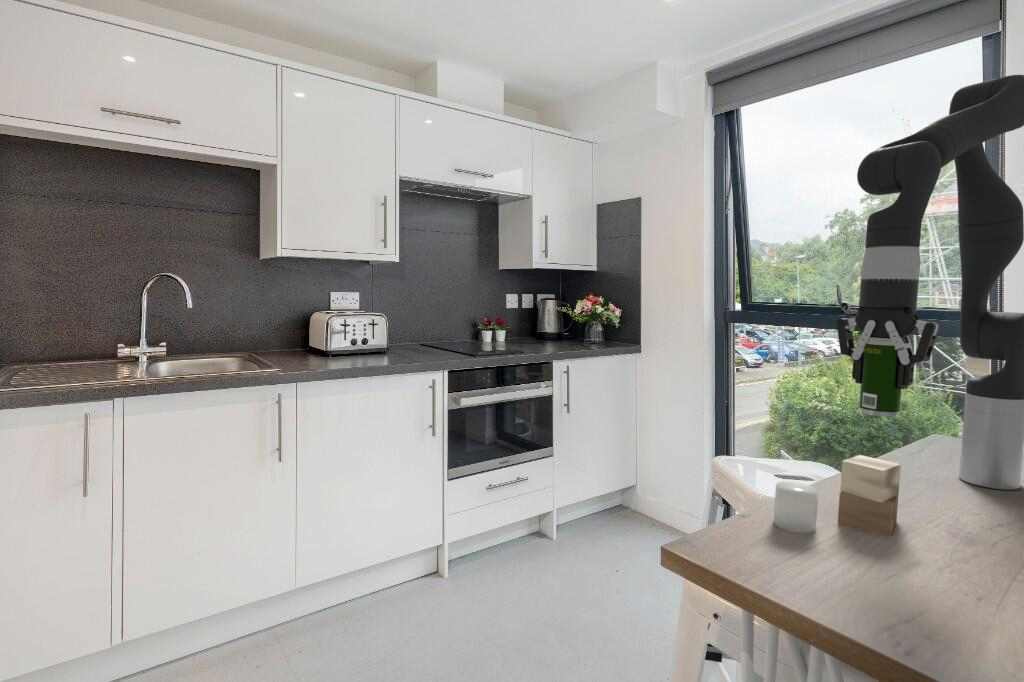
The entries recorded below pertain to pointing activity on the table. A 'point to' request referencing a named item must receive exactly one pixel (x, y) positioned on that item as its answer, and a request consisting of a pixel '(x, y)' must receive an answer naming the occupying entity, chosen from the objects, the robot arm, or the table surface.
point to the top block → (870, 478)
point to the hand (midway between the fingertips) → (880, 385)
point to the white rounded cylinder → (796, 507)
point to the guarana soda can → (880, 378)
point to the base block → (868, 513)
